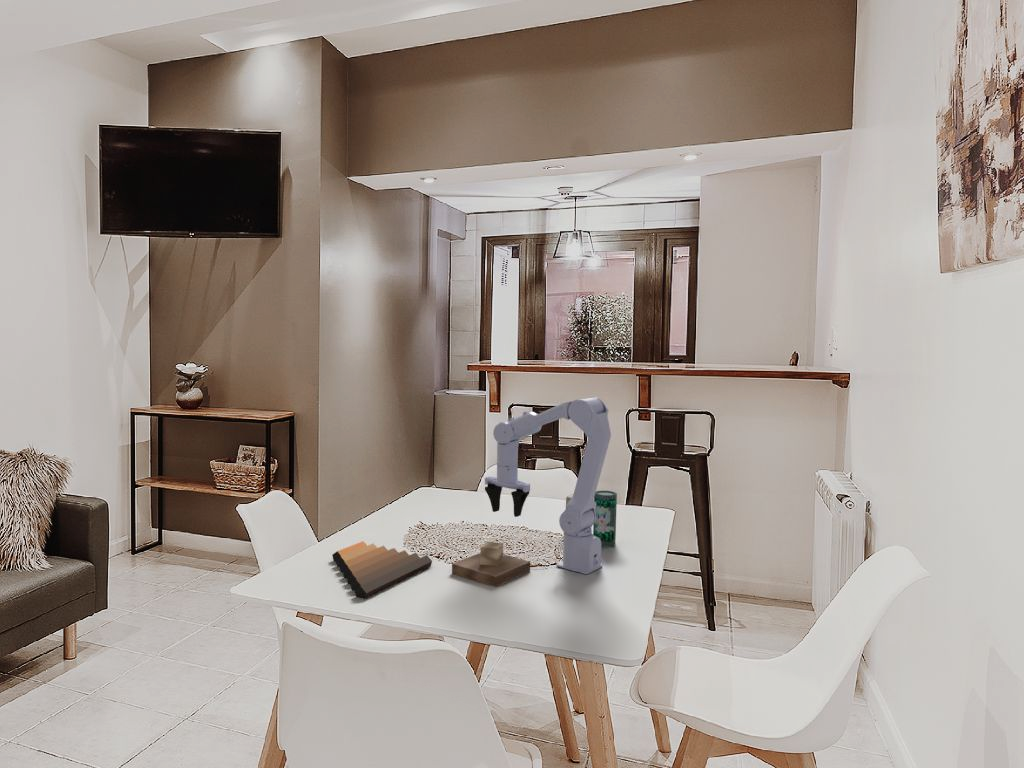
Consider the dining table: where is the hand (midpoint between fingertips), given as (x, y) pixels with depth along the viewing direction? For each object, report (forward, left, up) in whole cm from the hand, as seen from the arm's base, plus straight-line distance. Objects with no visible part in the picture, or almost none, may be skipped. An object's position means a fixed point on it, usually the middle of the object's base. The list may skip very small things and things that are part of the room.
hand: (506, 513), depth 185 cm
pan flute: (+16, +37, -11) cm, 42 cm away
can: (-18, -23, -11) cm, 31 cm away
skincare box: (-8, -24, -11) cm, 27 cm away
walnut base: (-8, +16, -10) cm, 21 cm away
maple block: (-8, +16, -8) cm, 19 cm away
